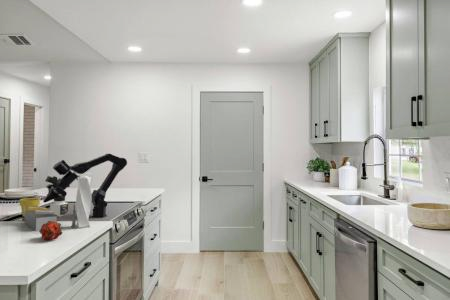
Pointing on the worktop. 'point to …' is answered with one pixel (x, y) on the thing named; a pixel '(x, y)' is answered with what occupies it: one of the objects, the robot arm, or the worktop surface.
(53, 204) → the medicine bottle
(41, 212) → the rocker outlet
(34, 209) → the rocker outlet
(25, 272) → the worktop surface
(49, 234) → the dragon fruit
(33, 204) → the plant pot
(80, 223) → the skyscraper
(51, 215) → the grey switch box
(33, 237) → the worktop surface
